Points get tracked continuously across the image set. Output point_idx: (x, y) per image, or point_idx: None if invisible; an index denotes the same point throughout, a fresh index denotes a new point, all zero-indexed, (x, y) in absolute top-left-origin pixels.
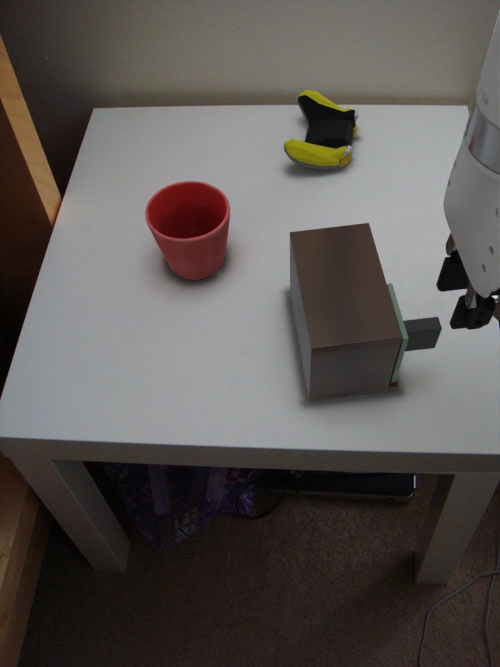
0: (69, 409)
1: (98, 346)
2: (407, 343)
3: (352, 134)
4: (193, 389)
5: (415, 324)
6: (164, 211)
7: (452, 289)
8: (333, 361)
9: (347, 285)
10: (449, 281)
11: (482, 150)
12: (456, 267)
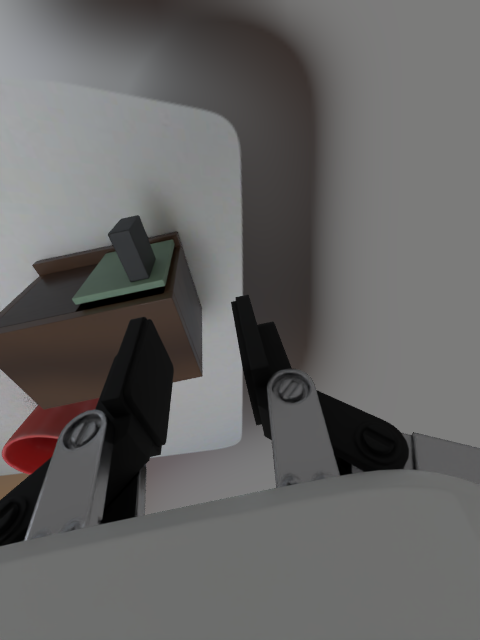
0: (224, 427)
1: (177, 427)
2: (150, 260)
3: None
4: (202, 379)
5: (131, 265)
6: (51, 453)
7: (165, 352)
8: (196, 336)
9: (104, 355)
10: (166, 382)
11: None
12: (158, 420)
